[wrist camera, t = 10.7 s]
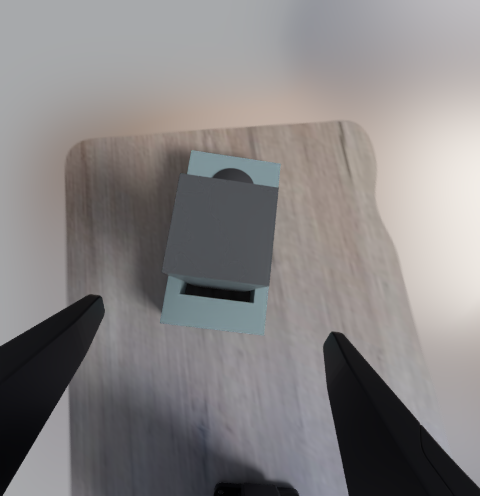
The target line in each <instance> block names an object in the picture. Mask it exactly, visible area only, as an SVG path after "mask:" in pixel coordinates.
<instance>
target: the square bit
mask: <svg viewBox="0 0 480 496" xmlns="http://www.w3.org/2000/svg"><path fill="white" fill-rule="evenodd" d="M278 189H279V188H278V187H271V186H264V185H258V184H251V183H244V182H237V181H231V180H224V179H217V178H210V177H203V176H197V175H190V174H183V173H180V177H179V182H178V187H177V193H176V198H175V203H174V209H173V214H172V219H171V224H170V230H169V235H168V240H167V246H166V251H165V256H164V261H163V267H162V273H164V274H167V275H169V276H172V277H174V278H177V279H179V280H181V281H184V282H186V283H189V284H191V285H194V286H196V287H204V288H212V289H220V290H228V291H236V292H246V291H250V290H254V289H259V288H263V287H268V286H269V282H270V272H271V262H272V251H273V241H274V230H275V220H276V209H277V199H278Z"/></svg>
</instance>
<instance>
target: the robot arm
mask: <svg viewBox="0 0 480 496" xmlns="http://www.w3.org/2000/svg"><path fill="white" fill-rule="evenodd" d="M104 313H105V309H104V304H103V299H102V297H101V296H99V295H93V294H90V295H87V296H86V297H84V298H82V299H80V300H79V301H77V302H75V303H74V304H72V305H70V306H68V307H67V308H65V309H63V310H62V311H60V312H58V313H56V314H55V315H53V316H51V317H50V318H48V319H46V320H44V321H43V322H41V323H39V324H38V325H36V326H34V327H33V328H31V329H30V330H27V331H26V332H24V333H22V334H20V335H19V336H17V337H15V338H14V339H12V340H10V341H9V342H7V343H5V344H3V345H2V346H0V496H3V494H4V492H5V491H6V489H7V487H8V486H9V484H10V482H11V480H12V479H13V477H14V475H15V474H16V472H17V470H18V469H19V467H20V465H21V464H22V462H23V460H24V459H25V457H26V455H27V454H28V452H29V450H30V449H31V447H32V445H33V443H34V442H35V440H36V438H37V437H38V435H39V433H40V432H41V430H42V428H43V426H44V425H45V423H46V421H47V420H48V418H49V416H50V415H51V413H52V411H53V409H54V408H55V406H56V405H57V403H58V401H59V400H60V398H61V396H62V394H63V393H64V391H65V389H66V388H67V386H68V384H69V383H70V381H71V379H72V378H73V376H74V374H75V372H76V371H77V369H78V367H79V366H80V364H81V362H82V361H83V359H84V357H85V355H86V353H87V351H88V349H89V347H90V345H91V343H92V341H93V338H94V336H95V334H96V332H97V330H98V328H99V325H100V323H101V321H102V319H103V317H104ZM323 352H324V362H325V373H326V383H327V390H328V395H329V400H330V405H331V410H332V415H333V420H334V425H335V430H336V435H337V440H338V444H339V449H340V454H341V459H342V464H343V469H344V474H345V479H346V484H347V489H348V494H349V496H480V488H479V487H478V486H477V485H476V484H475V483H474V482H473V481H472V480H471V479H470V478H469V477H468V476H467V475H466V474H465V472H464V471H463V470H462V469H461V468H460V467H459V466H458V465H457V464H456V463H455V462H454V461H453V460H452V459H451V458H450V456H449V455H448V454H447V453H446V452H445V451H444V450H443V449H442V448H441V446H440V445H439V444H438V443H437V442H436V441H435V440H434V439H433V437H432V436H431V435H430V434H429V433H428V432H427V430H426V429H425V428H424V427H423V426H422V425H420V423H419V421H418V420H417V419H416V418H415V417H414V415H413V414H412V413H411V412H410V411H409V410H408V409H407V407H406V406H405V405H404V404H403V403H402V402H401V400H400V399H399V398H398V397H397V396H396V395H395V393H394V392H393V391H392V390H391V389H390V388H389V387H388V385H387V384H386V383H385V382H384V381H383V380H382V378H381V377H380V376H379V375H378V374H377V373H376V371H375V370H374V369H373V368H372V367H371V366H370V364H369V363H368V362H367V361H366V360H365V359H364V358H363V356H362V355H361V354H360V353H359V352H358V351H357V349H356V348H355V347H354V346H353V345H352V344H351V342H350V341H349V340H348V339H347V338H346V337H345V335H344V334H342V333H340V332H331V333H330V334H329V336H328V338H327V339H326V341H325V343H324V346H323ZM220 490H222V491H224V493H223V494H219V493H218V492H219V491H220ZM214 496H299V493H298V491H297V490H296V489H291V488H280V487H276V486H274V485H262V484H251V483H244V484H235V483H224V482H221V483H218V484H217V485H216V486H215V489H214Z"/></svg>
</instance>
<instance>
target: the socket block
mask: <svg viewBox="0 0 480 496" xmlns="http://www.w3.org/2000/svg"><path fill="white" fill-rule="evenodd" d="M280 165H281V164H279V163H272V162H265V161H259V160H252V159H246V158H239V157H233V156H226V155H219V154H213V153H206V152H200V151H193V150H191V156H190V161H189V167H188V172H187V174H190V175H197V176H203V177H210V178H217V179H224V180H231V181H237V182H244V183H251V184H258V185H264V186H271V187H278V185H279V175H280ZM186 286H187V283H186V282H184V281H181V280H179V279H177V278H174V277H172V276H168V281H167V287H166V292H165V298H164V303H163V308H162V314H161V319H160V323H163V324H172V325H180V326H188V327H197V328H205V329H214V330H222V331H230V332H239V333H247V334H256V335H264V330H265V319H266V309H267V299H268V288H269V286H268V287H263V288H259V289H254V290H251V292H250V301H249V302H242V301H234V300H226V299H218V298H210V297H202V296H194V295H186V294H185V292H186Z"/></svg>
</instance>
